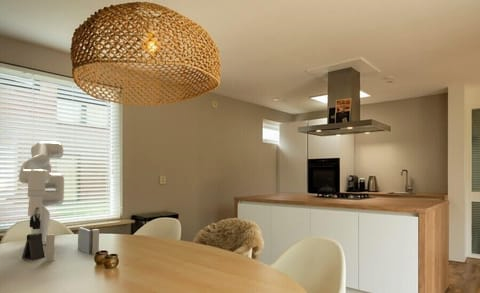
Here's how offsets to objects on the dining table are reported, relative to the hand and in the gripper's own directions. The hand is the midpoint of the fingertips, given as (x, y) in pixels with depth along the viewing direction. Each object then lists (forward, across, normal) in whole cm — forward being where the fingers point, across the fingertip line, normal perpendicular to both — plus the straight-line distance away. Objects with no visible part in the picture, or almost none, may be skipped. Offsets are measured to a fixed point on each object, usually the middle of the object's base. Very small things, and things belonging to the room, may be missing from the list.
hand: (34, 227), depth 166 cm
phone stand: (+15, -1, 0) cm, 15 cm away
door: (+15, +2, +24) cm, 28 cm away
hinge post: (+15, +10, +26) cm, 32 cm away
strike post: (+15, +10, +5) cm, 19 cm away
